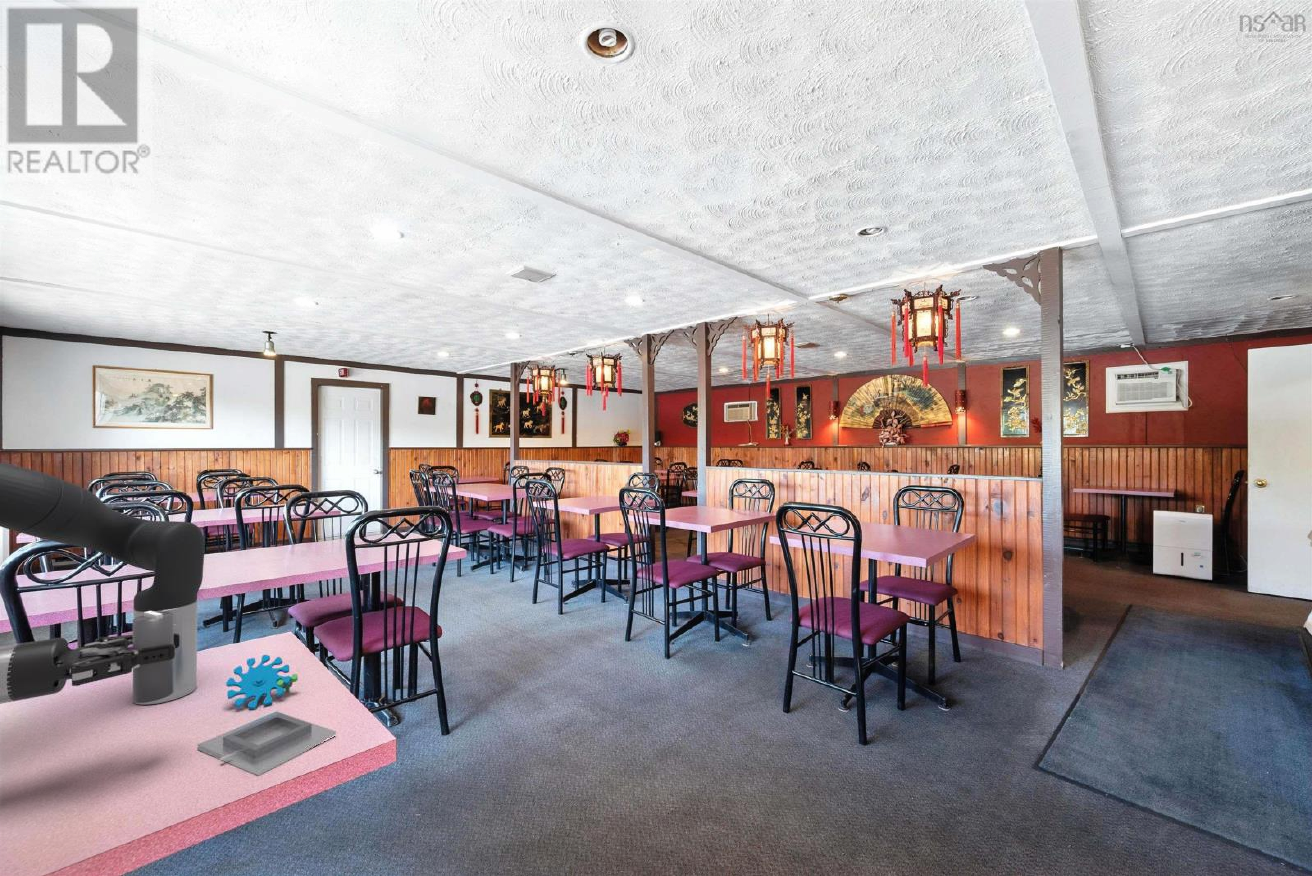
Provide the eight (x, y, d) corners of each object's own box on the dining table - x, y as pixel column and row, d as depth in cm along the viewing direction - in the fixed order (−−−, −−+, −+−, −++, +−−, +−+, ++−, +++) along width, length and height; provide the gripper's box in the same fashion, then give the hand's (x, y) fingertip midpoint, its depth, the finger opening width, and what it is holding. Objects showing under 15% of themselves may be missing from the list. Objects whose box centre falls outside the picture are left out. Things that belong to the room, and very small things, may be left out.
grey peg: (126, 699, 83) (126, 615, 83) (164, 686, 88) (163, 606, 87) (142, 705, 81) (141, 619, 81) (180, 692, 86) (179, 610, 85)
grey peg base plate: (191, 752, 87) (191, 739, 87) (276, 715, 99) (276, 704, 99) (252, 778, 80) (252, 764, 80) (335, 736, 92) (335, 724, 92)
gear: (217, 707, 98) (235, 653, 105) (220, 721, 102) (237, 667, 109) (290, 704, 103) (303, 652, 110) (290, 717, 106) (302, 666, 113)
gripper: (-8, 663, 70) (170, 635, 80) (32, 630, 82) (183, 609, 92) (-7, 722, 70) (170, 687, 80) (32, 680, 82) (183, 654, 92)
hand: (176, 645), depth 86 cm, fingers closed on grey peg, 4 cm apart
